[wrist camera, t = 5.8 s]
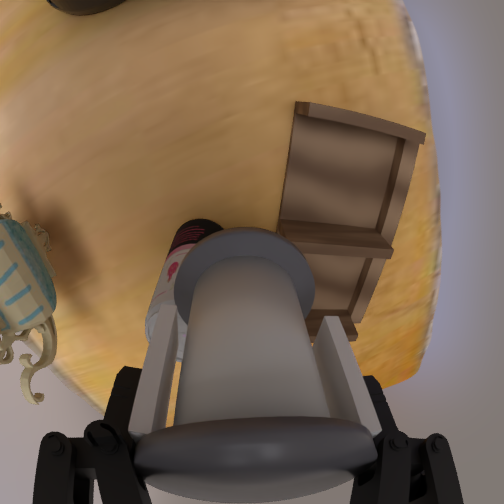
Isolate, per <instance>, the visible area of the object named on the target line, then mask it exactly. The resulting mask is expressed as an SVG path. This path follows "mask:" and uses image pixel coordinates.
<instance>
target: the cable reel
mask: <svg viewBox="0 0 504 504" xmlns="http://www.w3.org/2000/svg"><path fill="white" fill-rule="evenodd" d="M314 298H315V282H314V278H313V274H312V272H311V269H310V267H309V265H308V263H307V260H306V258H305V257H304V255H303V254H302V252H301V251H300V250H299V249H298V248H297V247H296V246H295V245H294V244H293V243H292V242H291V241H289V240H288V239H286V238H285V237H283V236H281V235H279V234H277V233H275V232H272V231H269V230H265V229H261V228H255V227H236V228H229V229H225V230H221V231H218V232H215V233H213V234H211V235H209V236H207V237H205V238H204V239H202V240H201V241H199V242H198V243H197V244H195V245H194V246H193V247H192V248H191V249H190V250H189V252H188V253H187V254H186V255H185V257H184V259H183V260H182V262H181V264H180V267H179V269H178V273H177V276H176V279H175V284H174V301H175V305H176V306H177V310H178V312H179V315H180V316H181V318H182V319H183V321H184V322H185V323H186V324H187V326H188V328H187V334H186V340H185V346H184V352H183V359H182V365H181V372H180V379H179V386H178V393H177V400H176V408H175V416H174V424H173V426H171V427H167V428H163V429H159V430H157V431H154V432H151V433H149V434H147V435H145V436H143V437H142V438H141V439H140V440H139V441H138V442H137V444H136V446H135V452H134V458H133V466H134V469H135V473H136V476H139V477H142V478H143V479H144V480H145V483H147V484H149V485H151V486H153V487H155V488H157V489H160V490H162V491H165V492H168V493H171V494H175V495H178V496H182V497H187V498H192V499H197V500H203V501H211V502H221V503H262V502H273V501H281V500H287V499H293V498H298V497H303V496H307V495H311V494H315V493H318V492H321V491H325V490H327V489H330V488H333V487H336V486H338V485H341V484H343V483H345V482H347V481H349V480H351V479H353V478H354V477H356V476H357V475H359V474H362V473H363V472H365V471H366V470H367V469H369V468H370V467H371V466H372V465H373V464H374V463H375V461H376V459H377V456H378V454H377V451H376V447H375V444H374V441H373V438H372V435H371V432H370V431H369V430H368V429H367V428H366V427H365V426H363V425H361V424H359V423H356V422H353V421H350V420H344V419H338V418H331V417H330V413H329V409H328V405H327V401H326V397H325V394H324V390H323V386H322V382H321V378H320V375H319V371H318V367H317V364H316V360H315V356H314V353H313V349H312V346H311V342H310V338H309V335H308V331H307V328H306V324H305V321H304V320H305V319H306V317H307V316H308V314H309V312H310V310H311V308H312V305H313V302H314Z"/></svg>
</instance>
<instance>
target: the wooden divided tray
mask: <svg viewBox="0 0 504 504" xmlns="http://www.w3.org/2000/svg"><path fill="white" fill-rule="evenodd" d="M425 136H426V133H424V132H421V131H418V130H415V129H412V128H409V127H406V126H403V125H400V124H397V123H394V122H390V121H387V120H383V119H380V118H376V117H373V116H369V115H365V114H361V113H357V112H353V111H349V110H345V109H340V108H336V107H331V106H326V105H321V104H316V103H310V102H297V101H296V102H295V110H294V117H293V125H292V132H291V139H290V146H289V153H288V160H287V167H286V173H285V180H284V187H283V193H282V200H281V206H280V213H279V219H278V225H277V232H276V233H277V234H279V235H281V236H283V237H285V238H286V239H288V240H289V241H291V242H292V243H293V244H294V245H295V246H296V247H297V248H298V249H299V250H300V251H301V252H302V254H303V255H304V257H305V258H306V260H307V263H308V265H309V267H310V269H311V272H312V274H313V278H314V282H315V298H314V302H313V305H312V308H311V310H310V312H309V314H308V316H307V317H306V319H305V320H304V321H305V324H306V328H307V331H308V335H309V338H310V342H311V343H314V342H315V339H316V337H317V334H318V331H319V329H320V326H321V324H322V321H323V318H324V316H338V317H339V319H340V322H341V324H342V326H343V329H344V331H345V334H346V336H347V338H348V341H356V339H357V337H358V333H357V331H356V328H355V326H354V324H353V323H360V322H361V320H362V318H363V316H364V314H365V311H366V309H367V307H368V304H369V302H370V300H371V297H372V295H373V292H374V290H375V287H376V285H377V282H378V280H379V277H380V275H381V272H382V269H383V267H384V264H385V261H386V259H391V256H392V254H393V251H394V249H393V248H392V247H391V244H392V241H393V239H394V236H395V232H396V229H397V226H398V223H399V220H400V217H401V213H402V210H403V207H404V203H405V200H406V196H407V193H408V189H409V185H410V181H411V178H412V174H413V170H414V165H415V161H416V157H417V152H418V148H419V143H420V144H423V145H424V141H425Z"/></svg>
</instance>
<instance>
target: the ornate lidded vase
mask: <svg viewBox="0 0 504 504" xmlns="http://www.w3.org/2000/svg"><path fill="white" fill-rule="evenodd" d="M0 208H2V205H1V203H0ZM34 228H36V231H35V230H34V229H33V228H32V227H31V226H30V224H29V223H28V221H25V222H23V223H21V224H19V223H18V222H17V221H15V220H12V216H11V214H10V212H7V213H6V214H0V334H2V336H3V337H2V341H1V338H0V365H1V364H9V363H10V362H11V361H12V360H13V354H14V352H13V350H12V347H11V345H12V343H13V342H14V341H15V340H20V341H27V340H28V335H29V333H30V331H31V330H32V329H33V328H35V329H37V331H38V333H42V337H43V353H42V356H41V358H40V360H39V361H38V362H37V363H36V364H34V365H32V363H31V362H30V358H31V357H32V355H31V354H22V355H21V356H20V358H19V361H20V363H21V364H22V365H23V366H24V367H25V369H24V370H23V372H22V374H21V378H20V383H21V389H22V392H23V395H24V397H25V399H26V400H27V401H28V402H29V403H31V404H36V405H38V403H37V402H42V401H43V400H44V394H41V393H35V395H33V394H32V392H31V390H30V382H31V378H32V376H33V375H34V373H35V372H36V371H38V370H40V369H42V368H44V367H46V366H48V365H50V364H51V363H52V362H53V360H54V358H55V355H56V350H57V331H56V326H55V322H54V319H53V316H52V313H53V312H54V310H55V309H56V292H55V288H54V285H53V282H52V279H51V278H52V277H54V276H56V273H55V271H54V269H53V267H52V266H51V264H50V262H49V260H48V259H47V255H46V252H47V251H50V250H51V246H50V245H49V234H48V232H46V231H45V230H44V229H43V228H40V225H39V224H36V225H35V227H34ZM38 232H43V233H42V234H39V235H38ZM45 242H46V244H45V246H44V243H45ZM19 331H23V332H22V333H21V335H19V336H17V335H15V333H16V332H19ZM6 351H7V355H6V357H5V358H4V359H3V357H4V355H5V352H6Z"/></svg>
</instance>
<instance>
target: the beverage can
mask: <svg viewBox="0 0 504 504" xmlns="http://www.w3.org/2000/svg"><path fill="white" fill-rule="evenodd" d="M221 230H224V229H223V228H222V227H221V226H220V225H218V224H217V223H215V222H213V221H210V220H206V219H195V220H191V221H188V222H186V223H185V224H183V225H182V226H181V227H180V228H179V229H178V231H177V232H176V235H175V237H174V240H173V242H172V245H171V248H170V250H169V253H168V255H167V258H166V261H165V264H164V266H163V269H162V272H161V275H160V277H159V280H158V283H157V286H156V289H155V292H154V295H153V298H152V301H151V304H150V307H149V310H148V313H147V316H146V319H145V334H146V338H147V340H148V342H149V343H150V340H151V336H152V333H153V329H154V326H155V322H156V319H157V316H158V313H159V309H160V306H161V304H167V305H175V301H174V284H175V279H176V276H177V273H178V269H179V267H180V264H181V262H182V260H183V259H184V257H185V255H186V254H187V253H188V252H189V250H190V249H191V248H192V247H193V246H194V245H195V244H197V243H198V242H199V241H201V240H202V239H204V238H205V237H207V236H209V235H211V234H213V233H215V232H218V231H221ZM177 321H178V343H179V346H178V351H177V357H176V361H178V362H182V359H183V352H184V346H185V340H186V334H187V328H188V326H187V324H186V323H185V322H184V321H183V319H182V318H181V316H180V315H179V312H178V310H177Z"/></svg>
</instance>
